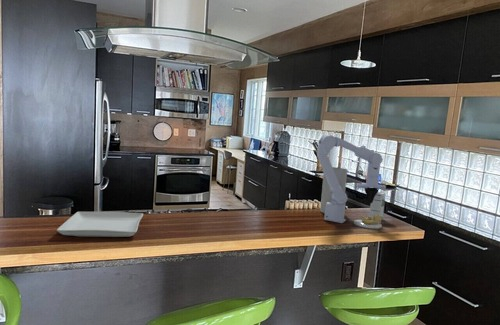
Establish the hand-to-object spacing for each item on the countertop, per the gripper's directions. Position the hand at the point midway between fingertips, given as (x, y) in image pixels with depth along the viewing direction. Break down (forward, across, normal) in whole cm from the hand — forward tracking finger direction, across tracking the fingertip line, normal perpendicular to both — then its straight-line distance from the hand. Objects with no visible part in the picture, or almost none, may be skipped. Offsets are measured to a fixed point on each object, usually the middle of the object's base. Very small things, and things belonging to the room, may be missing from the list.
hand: (369, 202), depth 178 cm
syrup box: (+11, +9, +8) cm, 16 cm away
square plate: (+11, -124, -16) cm, 125 cm away
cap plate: (+10, -3, -5) cm, 12 cm away
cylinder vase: (+11, -11, +20) cm, 25 cm away
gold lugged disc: (+9, -2, -5) cm, 11 cm away
